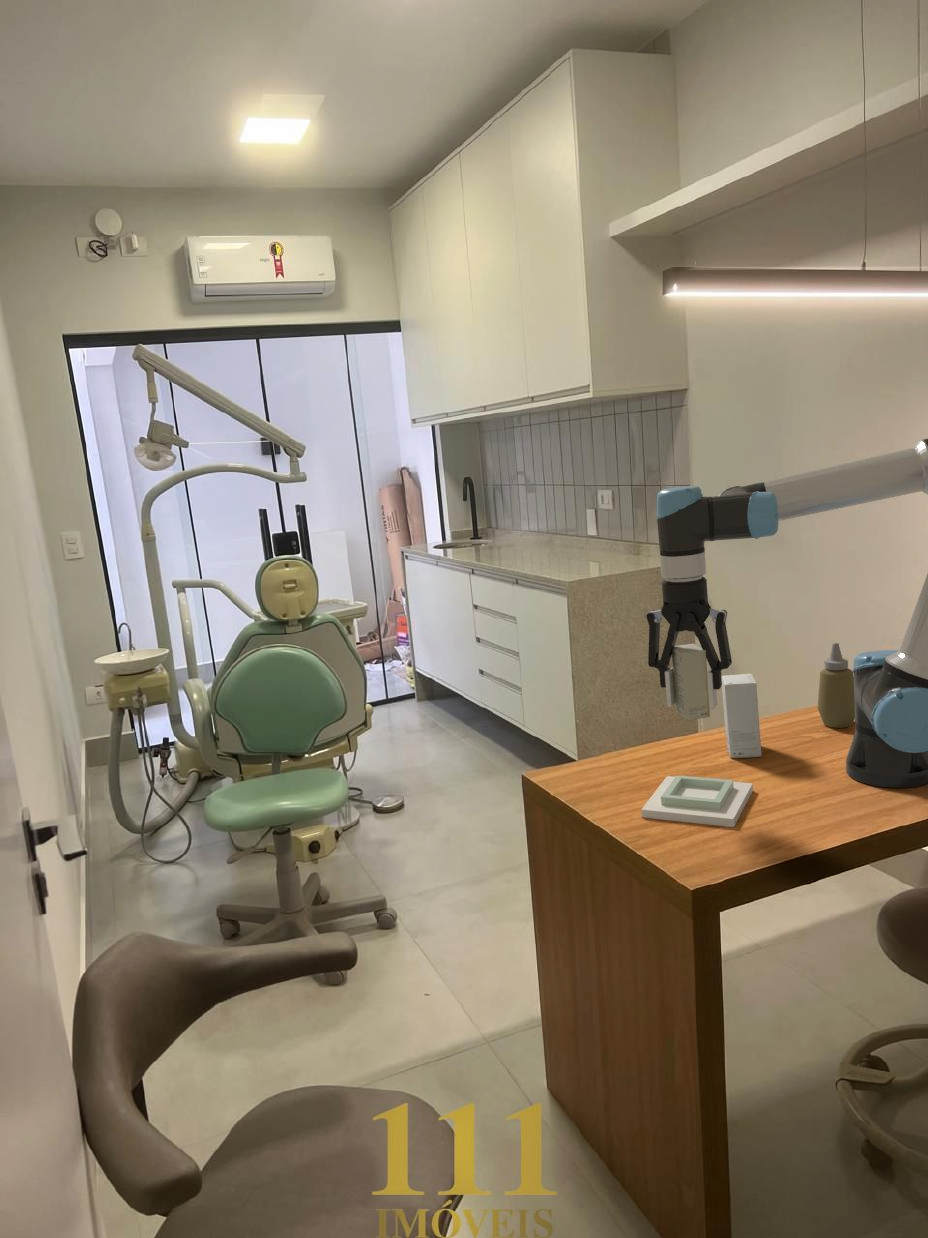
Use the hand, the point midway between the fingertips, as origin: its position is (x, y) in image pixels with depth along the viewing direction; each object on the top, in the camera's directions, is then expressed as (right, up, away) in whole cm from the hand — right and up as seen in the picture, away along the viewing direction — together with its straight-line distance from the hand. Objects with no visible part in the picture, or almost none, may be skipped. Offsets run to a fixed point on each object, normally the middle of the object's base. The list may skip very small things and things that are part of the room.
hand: (692, 705), depth 158 cm
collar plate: (+2, -18, +4) cm, 19 cm away
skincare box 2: (+17, -12, +26) cm, 34 cm away
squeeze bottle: (+41, -8, +36) cm, 55 cm away
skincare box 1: (0, -2, 0) cm, 2 cm away
